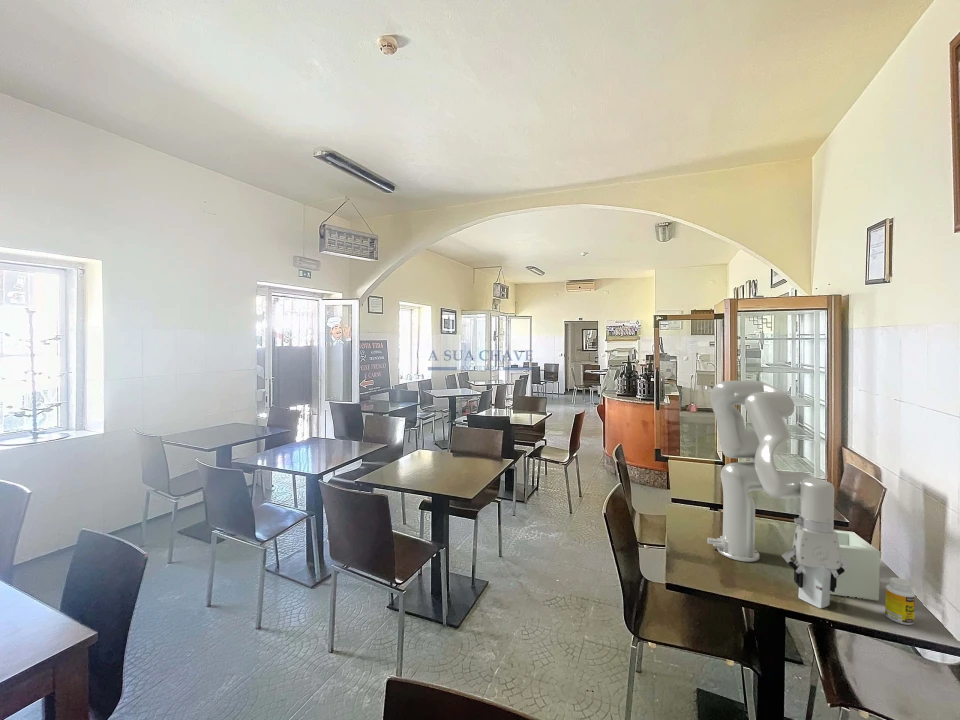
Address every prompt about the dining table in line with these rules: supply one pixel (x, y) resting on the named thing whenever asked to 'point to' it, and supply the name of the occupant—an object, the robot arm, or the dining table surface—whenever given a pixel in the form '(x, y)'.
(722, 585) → the dining table surface
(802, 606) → the dining table surface
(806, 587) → the skincare box
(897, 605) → the supplement bottle
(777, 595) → the dining table surface
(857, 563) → the holder
